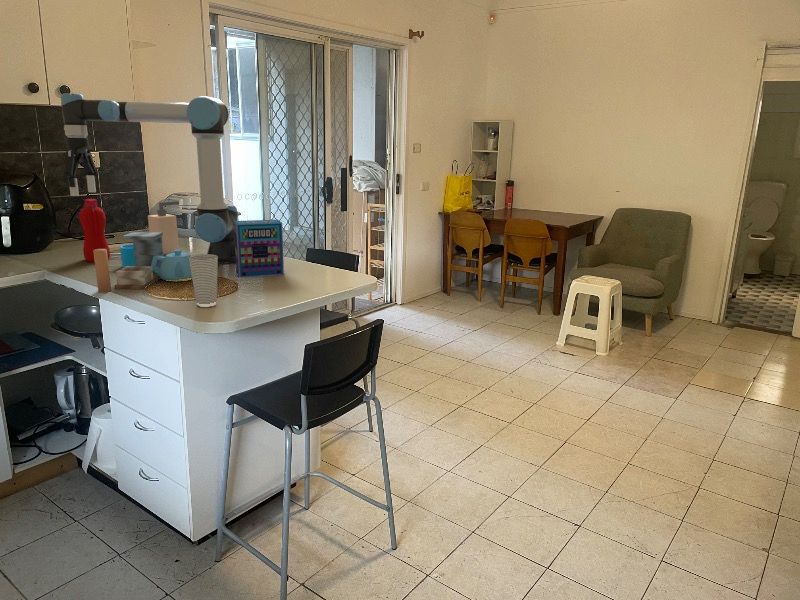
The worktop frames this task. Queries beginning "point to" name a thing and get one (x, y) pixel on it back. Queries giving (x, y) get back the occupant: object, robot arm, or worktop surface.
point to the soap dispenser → (165, 227)
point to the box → (258, 248)
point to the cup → (204, 277)
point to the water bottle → (93, 229)
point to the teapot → (173, 266)
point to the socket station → (141, 261)
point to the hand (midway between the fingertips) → (83, 194)
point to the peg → (102, 270)
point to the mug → (127, 255)
